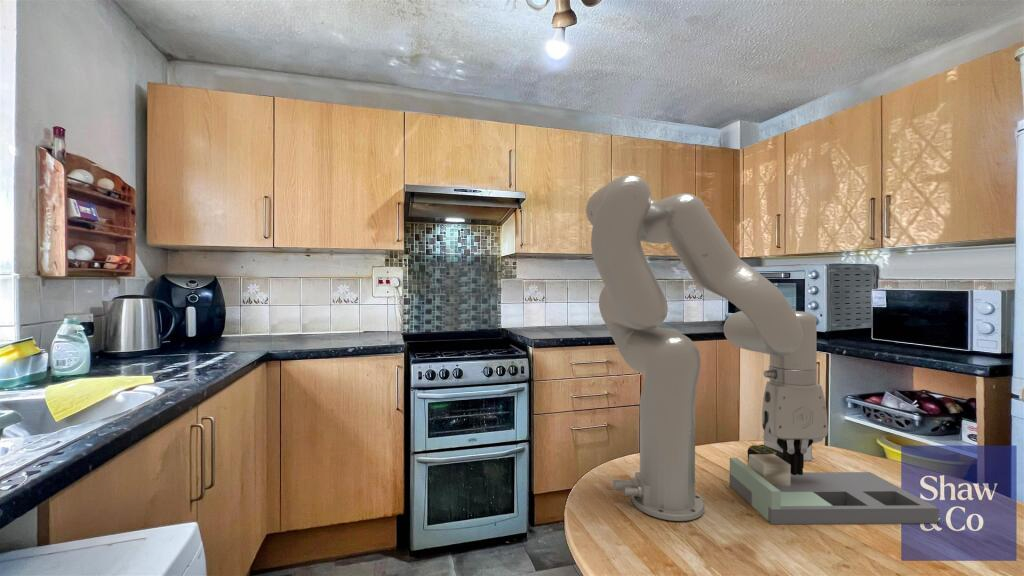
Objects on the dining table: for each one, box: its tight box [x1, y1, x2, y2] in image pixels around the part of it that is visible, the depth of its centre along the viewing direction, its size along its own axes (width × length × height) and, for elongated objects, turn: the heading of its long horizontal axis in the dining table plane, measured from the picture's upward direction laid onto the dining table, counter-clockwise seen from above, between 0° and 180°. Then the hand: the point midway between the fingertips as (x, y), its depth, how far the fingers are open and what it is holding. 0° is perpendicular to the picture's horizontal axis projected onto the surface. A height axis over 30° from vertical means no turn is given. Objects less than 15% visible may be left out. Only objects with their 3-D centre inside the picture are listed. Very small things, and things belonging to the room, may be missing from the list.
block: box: [748, 454, 791, 486], centre depth 84 cm, size 5×5×4 cm
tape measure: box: [746, 444, 783, 461], centre depth 97 cm, size 7×7×4 cm
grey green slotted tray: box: [729, 457, 940, 525], centre depth 80 cm, size 28×14×6 cm, turn 90°
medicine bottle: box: [763, 429, 813, 462], centre depth 102 cm, size 7×7×12 cm
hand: (793, 471), depth 84 cm, fingers closed
